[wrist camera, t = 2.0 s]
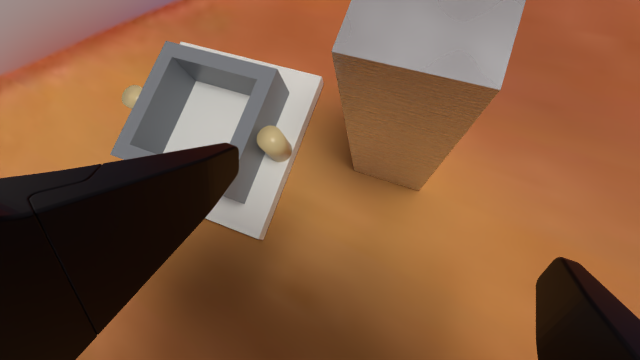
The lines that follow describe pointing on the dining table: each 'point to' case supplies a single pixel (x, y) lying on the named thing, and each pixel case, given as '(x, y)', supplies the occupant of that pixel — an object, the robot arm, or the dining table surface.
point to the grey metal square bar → (418, 78)
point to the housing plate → (224, 122)
